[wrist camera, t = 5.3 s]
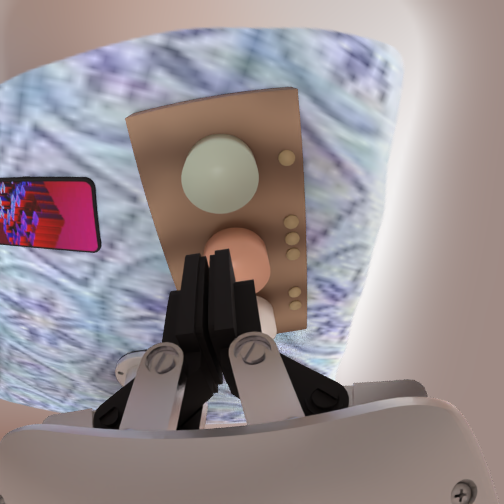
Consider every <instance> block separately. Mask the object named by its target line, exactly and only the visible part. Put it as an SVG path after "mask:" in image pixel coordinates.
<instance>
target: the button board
mask: <svg viewBox="0 0 504 504" xmlns="http://www.w3.org/2000/svg"><path fill="white" fill-rule="evenodd" d="M125 120H126V124H127V128H128V132H129V136H130V140H131V144H132V148H133V152H134V156H135V160H136V163H137V167H138V171H139V174H140V178H141V181H142V185H143V188H144V192H145V195H146V198H147V202H148V205H149V208H150V212H151V215H152V218H153V221H154V224H155V228H156V231H157V234H158V237H159V240H160V243H161V246H162V249H163V252H164V255H165V258H166V261H167V264H168V266H169V269H170V272H171V275H172V278H173V281H174V283H175V286H176V289H177V290H181V282H182V275H183V268H184V261H185V256H186V255H190V254H196V253H200V254H201V257H202V256H204V248H205V245H206V243H207V242H208V240H209V239H210V238H211V237H212V236H213V235H214V234H216V233H217V232H219V231H221V230H224V229H228V228H244V229H248V230H250V231H253V232H254V233H256V234H257V235H258V236H259V237H261V239H262V240H263V242H264V243H265V246H266V250H267V255H268V259H269V264H270V277H269V280H268V282H267V284H266V285H265V286H264V287H263V288H262V289H261V290H260V291H259V292H257V293H256V296H258V297H261V298H264V299H265V300H267V301H268V302H269V303H270V304H271V306H272V308H273V313H274V318H275V323H276V329H277V333H276V334H278V333H284V332H290V331H296V330H302V329H307V255H306V217H305V192H304V172H303V154H302V139H301V125H300V112H299V100H298V89H296V88H293V87H282V88H271V89H261V90H252V91H244V92H237V93H230V94H223V95H217V96H211V97H205V98H199V99H194V100H189V101H184V102H179V103H174V104H170V105H165V106H161V107H157V108H153V109H149V110H145V111H141V112H137V113H133V114H131V115H130V116H128V117H127V118H125ZM214 134H228V135H232V136H235V137H237V138H239V139H240V140H242V141H243V142H244V143H246V144H247V146H248V147H249V148H250V149H251V151H252V153H253V156H254V159H255V162H256V165H257V168H258V173H259V183H258V187H257V190H256V192H255V194H254V196H253V197H252V199H251V200H250V201H249V202H248V203H247V204H246V205H245V206H243V207H242V208H240V209H238V210H236V211H233V212H230V213H224V214H215V213H210V212H206V211H204V210H201V209H200V208H198V207H196V206H195V205H194V204H193V203H192V202H191V201H190V200H189V199H188V198H187V196H186V195H185V192H184V190H183V187H182V182H181V175H182V170H183V167H184V164H185V161H186V158H187V156H188V153H189V151H190V150H191V148H192V147H193V146H194V145H195V144H196V143H197V142H198V141H200V140H201V139H203V138H205V137H207V136H210V135H214Z"/></svg>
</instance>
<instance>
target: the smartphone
mask: <svg viewBox="0 0 504 504" xmlns="http://www.w3.org/2000/svg"><path fill="white" fill-rule="evenodd" d="M95 193H96V189H95V184H94V182H93V181H92V180H91V179H89V178H87V177H13V178H0V245H10V246H21V247H32V248H44V249H55V250H67V251H79V252H91V253H95V252H98V251H99V249H100V248H101V239H100V233H99V225H98V216H97V206H96V194H95Z"/></svg>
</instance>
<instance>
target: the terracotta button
mask: <svg viewBox="0 0 504 504" xmlns="http://www.w3.org/2000/svg"><path fill="white" fill-rule="evenodd" d="M228 248H229V250H230V255H231V260H232V265H233V270H234V275H235V280H236V282H239V281H245V280H252V279H254V285H255V291H256V293H257V292H259V291H260V290H261V289H262V288H263V287H264V286H265V285H266V284H267V282H268V280H269V277H270V264H269V259H268V255H267V250H266V246H265V243H264V242H263V240H262V239H261V237H259V236H258V235H257V234H256V233H254V232H253V231H250V230H248V229H244V228H228V229H224V230H221V231H219V232H217V233H216V234H214V235H213V236H212V237H211V238H210V239H209V240H208V242H207V243H206V245H205V248H204V256H206V257H207V261H208V265H209V262H210V255H215V251H216V250H222V249H228Z"/></svg>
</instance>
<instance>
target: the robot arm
mask: <svg viewBox="0 0 504 504" xmlns="http://www.w3.org/2000/svg"><path fill="white" fill-rule="evenodd" d="M222 372H223V374H222ZM115 374H116V378H117V380H118V381H119V382H120V384H121V385H122V386H123V387H122V388H121V389H120V390H119V391H118V392H116V393H115V394H114V395H113V396H111V397H110V398H109V399H108V400H106V401H105V402H104V403H103V404H101V405H100V406H99V408H98V409H97V410H95V411H94V410H93V409H92V408H91V409H85V410H80V411H74V412H68V413H61V414H54V415H51V416H48V417H47V418H46V419H45V420H44V421H43V423H42V424H35V425H28V426H24V427H20V428H17V429H14V430H12V431H10V432H9V433H7V434H6V435H5V436H4V437H3V438H2V440H1V442H0V504H499V500H498V497H497V493H496V490H495V487H494V484H493V480H492V477H491V474H490V471H489V468H488V465H487V463H486V460H485V457H484V455H483V452H482V450H481V448H480V445H479V443H478V441H477V439H476V437H475V435H474V433H473V431H472V429H471V427H470V425H469V423H468V422H467V420H466V419H465V417H464V416H463V414H461V412H460V411H459V410H458V409H457V408H456V407H455V406H454V405H453V404H451V403H449V402H447V401H444V400H441V399H436V398H431V397H428V396H427V392H426V390H425V388H424V386H423V385H422V384H421V383H419V382H417V381H415V380H408V379H407V380H395V381H382V382H365V383H354V384H353V386H342V385H341V384H339V383H338V382H336V381H334V380H332V379H330V378H328V377H326V376H324V375H322V374H320V373H318V372H316V371H314V370H312V369H310V368H308V367H306V366H304V365H302V364H300V363H298V362H296V361H294V360H292V359H290V358H288V357H286V356H284V355H282V354H281V353H279V351H278V348H277V346H276V343H275V342H274V340H273V339H272V338H271V337H270V336H269V335H267V334H264V333H262V330H261V323H260V317H259V310H258V304H257V298H256V291H255V285H254V279H252V280H245V281H239V282H236V280H235V275H234V270H233V265H232V260H231V255H230V250H229V248H228V249H222V250H216V251H215V255H210V262H209V265H208V261H207V257H206V256H202V257H201V254H200V253H196V254H190V255H186V256H185V261H184V268H183V275H182V282H181V290H176V291H171V292H170V294H169V300H168V306H167V312H166V319H165V325H164V332H163V339H162V343H159V344H156V345H153V346H152V347H150V348H149V349H148V350H147V351H140V352H134V353H131V354H128V355H126V356H124V357H122V358H121V359H120V360H119V361H118V363H117V365H116V370H115ZM223 375H224V378H225V380H226V383H228V386H229V388H230V391H231V393H232V394H233V395H235V396H236V397H237V398H239V399H240V400H241V404H242V407H243V411H244V415H245V418H246V422H247V425H246V426H237V427H226V428H214V429H204V428H205V422H206V415H207V409H208V402H207V401H208V400H209V399H210V398H211V397H212V396H213V393H218V384H223Z"/></svg>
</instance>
